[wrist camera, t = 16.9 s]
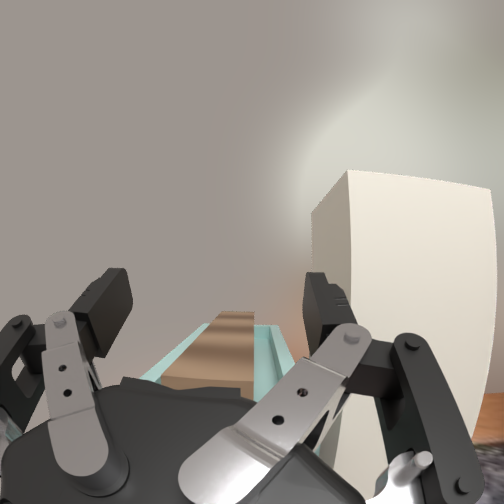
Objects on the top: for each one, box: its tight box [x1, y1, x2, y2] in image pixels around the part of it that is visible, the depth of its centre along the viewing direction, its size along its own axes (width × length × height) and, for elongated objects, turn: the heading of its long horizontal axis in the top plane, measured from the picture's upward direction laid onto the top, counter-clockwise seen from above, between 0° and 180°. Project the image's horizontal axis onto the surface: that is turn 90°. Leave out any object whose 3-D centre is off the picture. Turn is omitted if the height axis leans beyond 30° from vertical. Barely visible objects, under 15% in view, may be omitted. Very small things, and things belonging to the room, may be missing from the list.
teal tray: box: [139, 323, 321, 457], centre depth 22 cm, size 26×9×2 cm, turn 179°
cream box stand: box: [309, 170, 497, 501], centre depth 21 cm, size 12×12×32 cm
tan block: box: [161, 311, 254, 400], centre depth 21 cm, size 22×4×4 cm, turn 0°
